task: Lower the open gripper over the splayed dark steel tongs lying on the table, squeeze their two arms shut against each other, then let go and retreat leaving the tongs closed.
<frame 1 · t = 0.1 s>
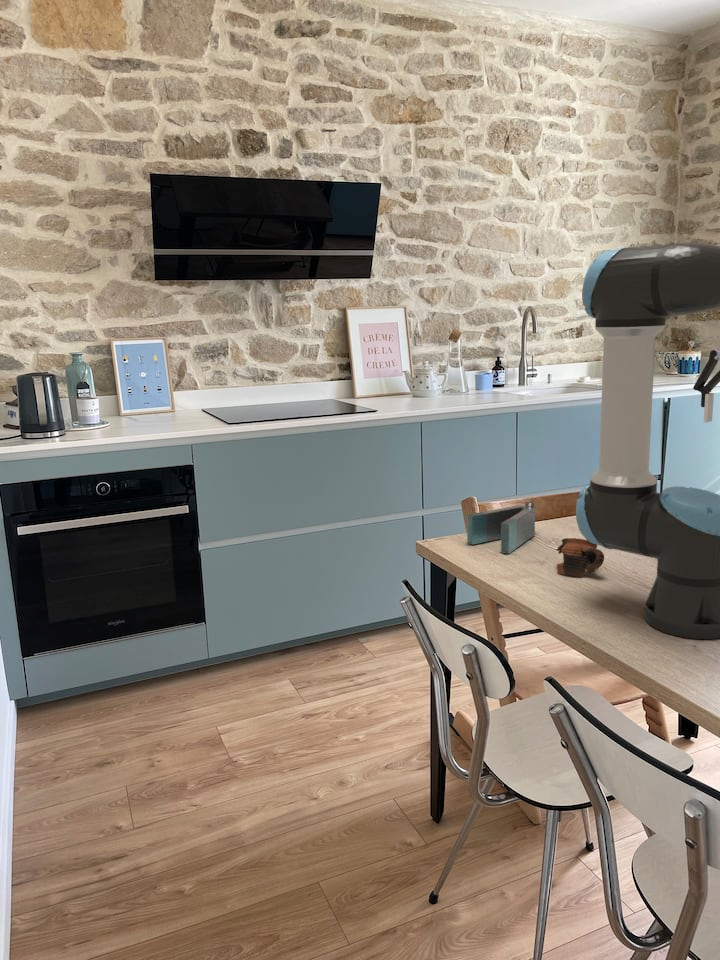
left tong arm: (496, 524, 182), point 4 cm above the table, hinge at 0.0°
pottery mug: (580, 572, 159), on the table
pivot post: (529, 533, 186), on the table
right tong arm: (518, 529, 177), point 4 cm above the table, hinge at 0.0°
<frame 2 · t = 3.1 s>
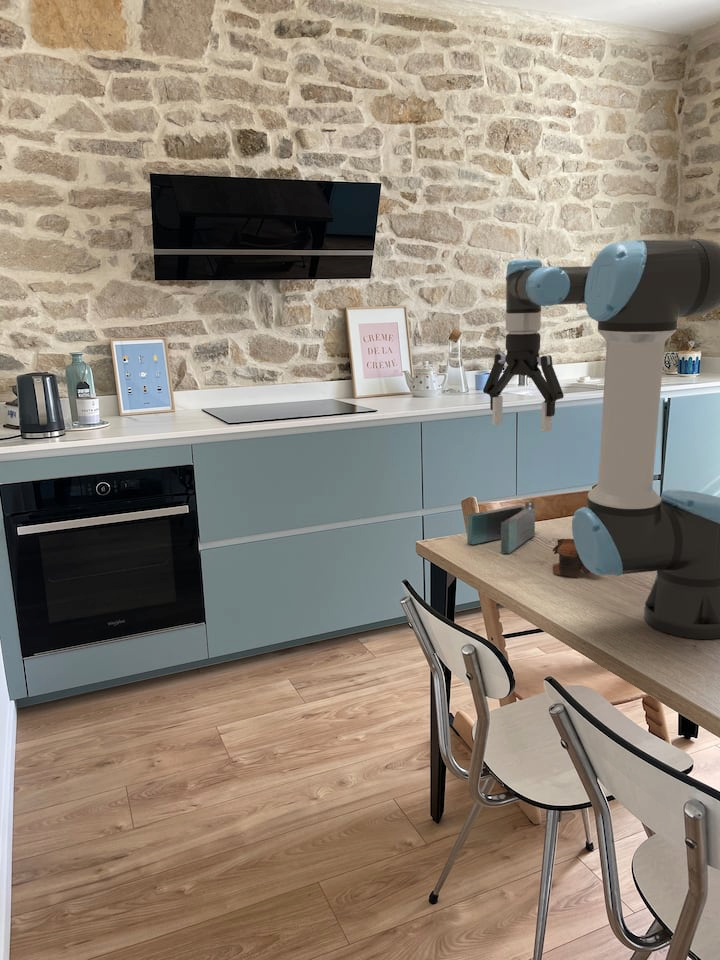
hand: (521, 427, 169), 29 cm above the table, tool pointing down, fingers open, 13 cm apart
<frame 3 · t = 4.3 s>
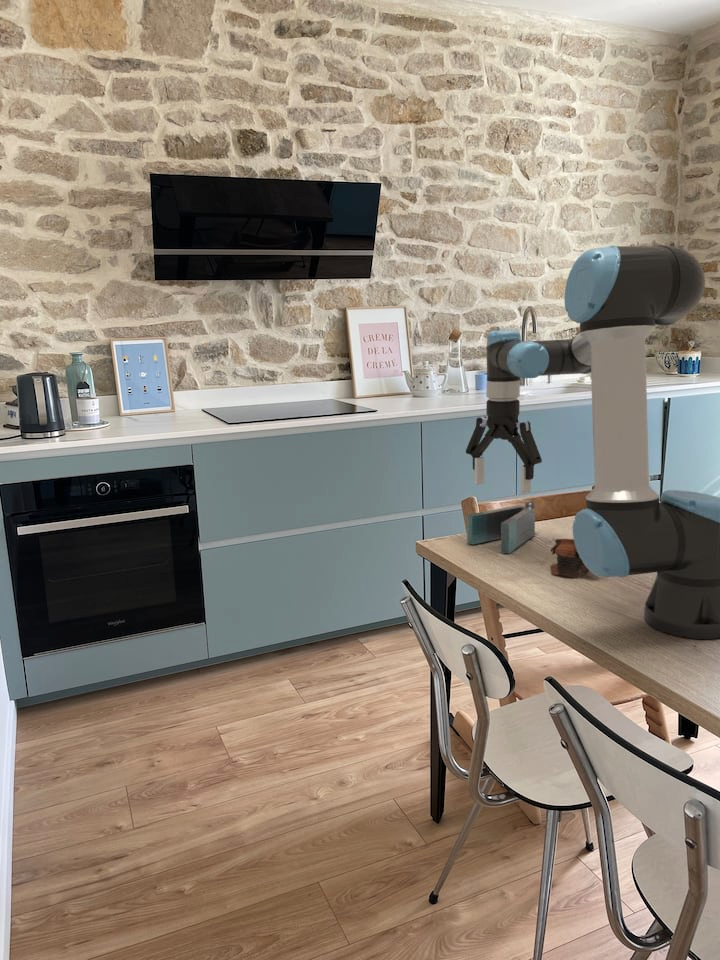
hand: (501, 488, 176), 14 cm above the table, tool pointing down, fingers open, 13 cm apart
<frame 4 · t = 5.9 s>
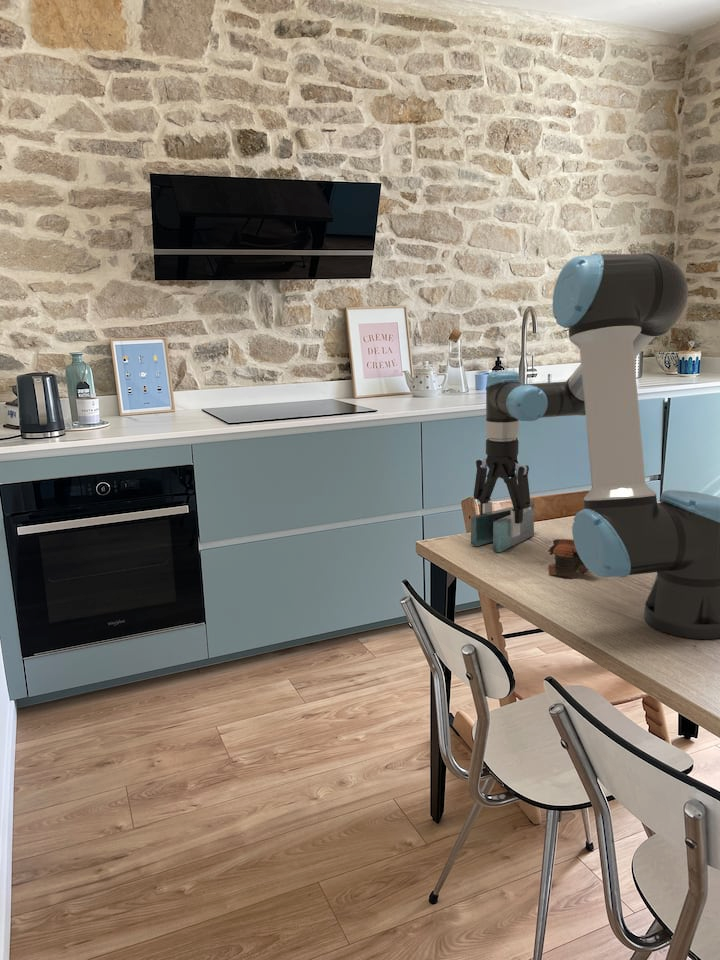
hand: (500, 532, 178), 3 cm above the table, tool pointing down, fingers open, 8 cm apart
left tong arm: (498, 525, 181), point 4 cm above the table, hinge at 5.2°, touching gripper
right tong arm: (514, 529, 177), point 4 cm above the table, hinge at -6.8°, touching gripper
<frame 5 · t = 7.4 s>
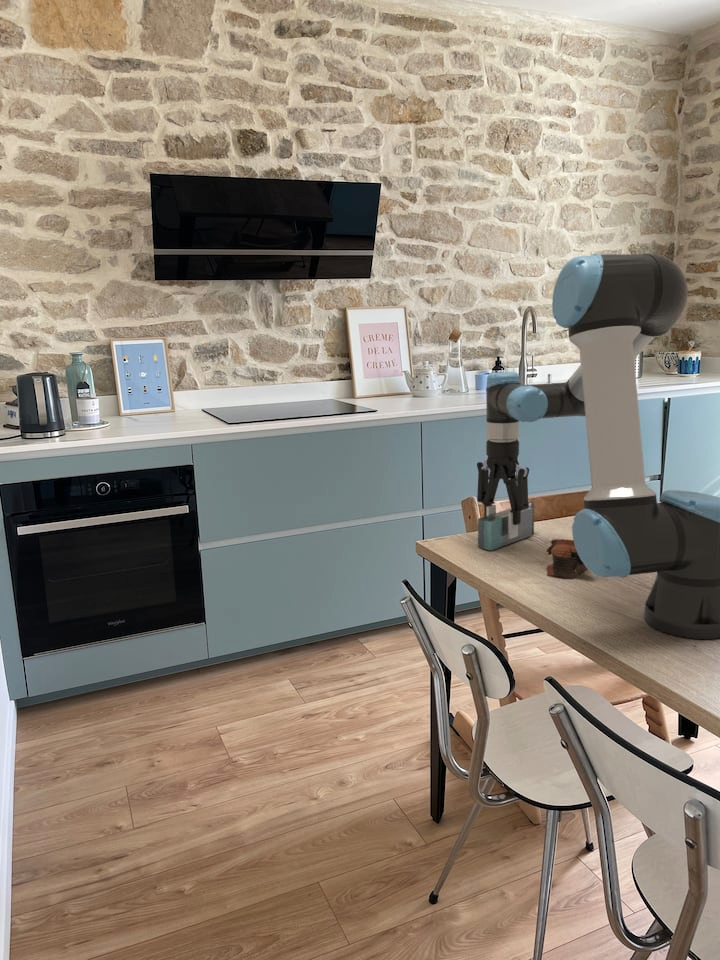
hand: (501, 534, 178), 2 cm above the table, tool pointing down, fingers open, 6 cm apart
left tong arm: (502, 526, 180), point 4 cm above the table, hinge at 13.9°
right tong arm: (509, 528, 178), point 4 cm above the table, hinge at -14.7°
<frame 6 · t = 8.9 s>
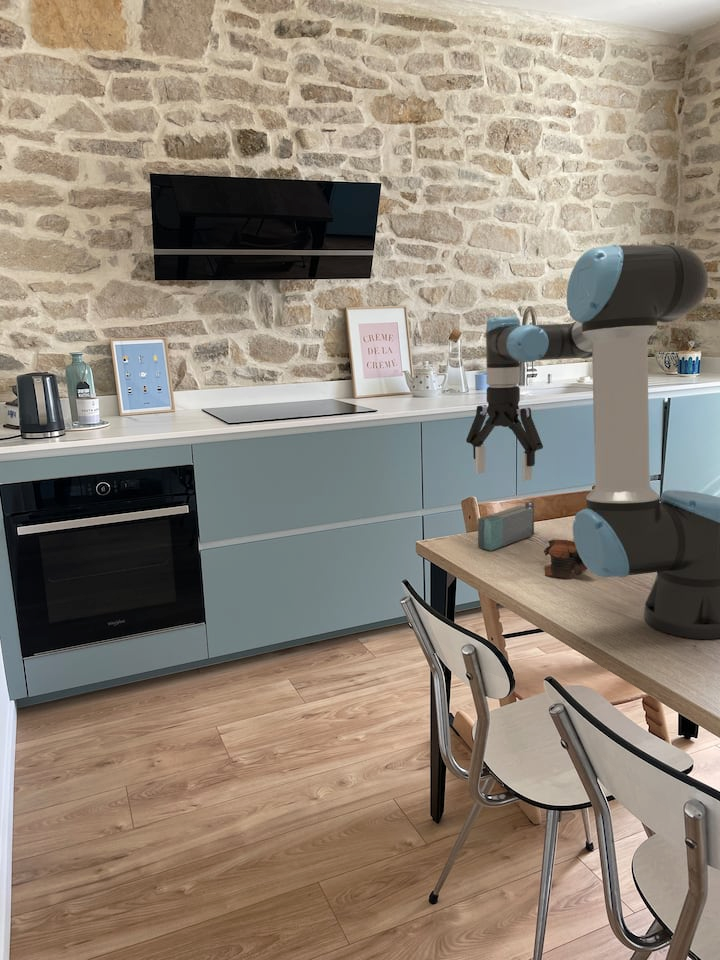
hand: (503, 476, 175), 17 cm above the table, tool pointing down, fingers open, 13 cm apart
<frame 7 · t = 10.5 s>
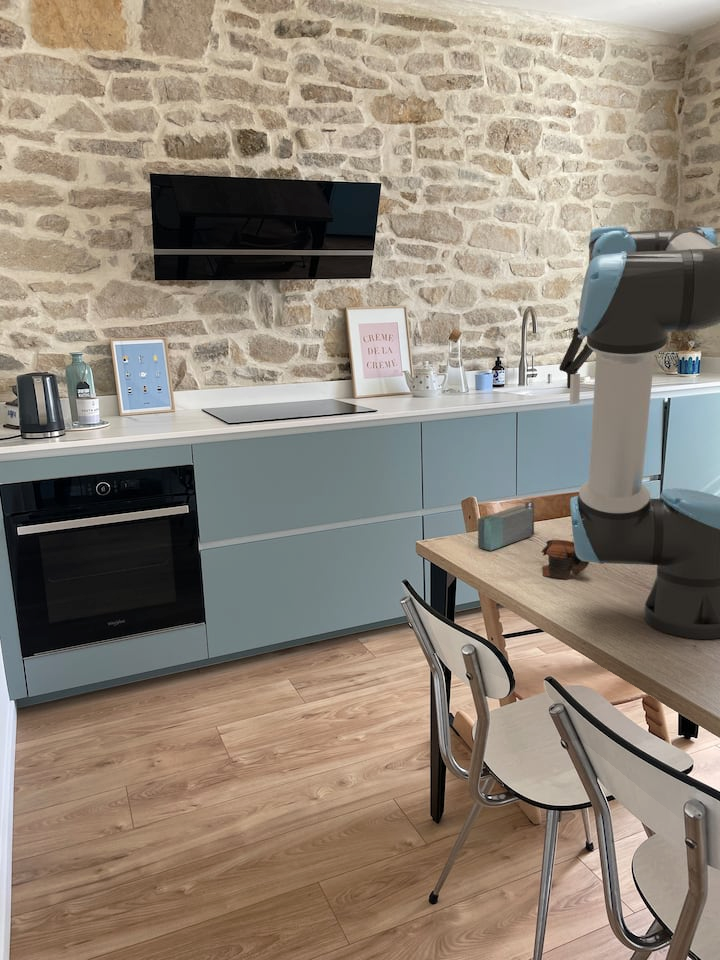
hand: (602, 405, 161), 34 cm above the table, tool pointing down, fingers open, 13 cm apart
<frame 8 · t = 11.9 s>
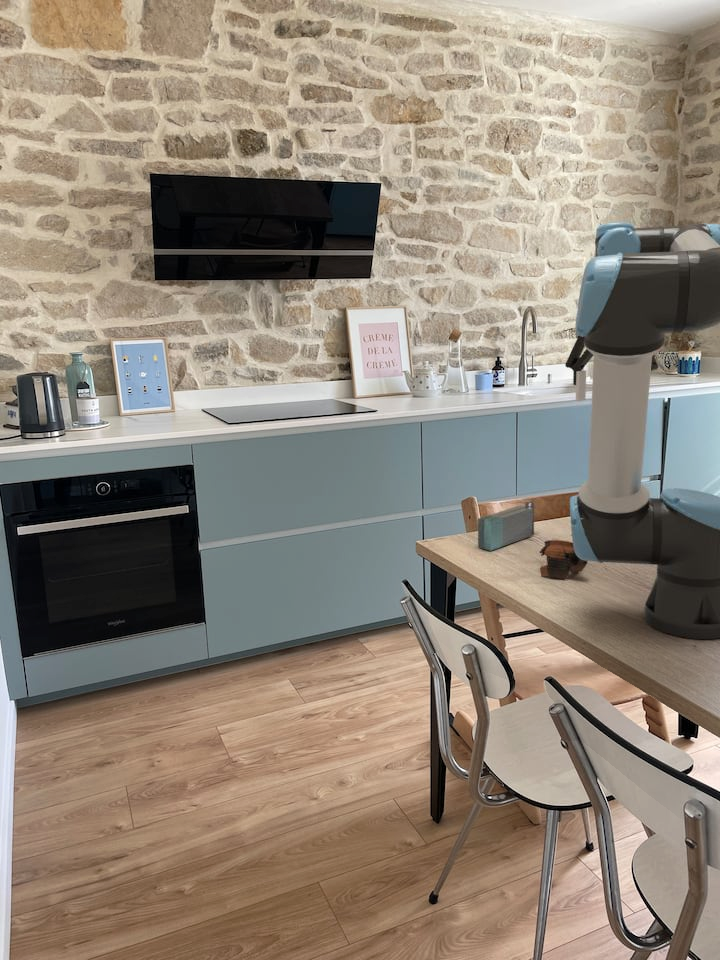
hand: (608, 402, 160), 35 cm above the table, tool pointing down, fingers open, 13 cm apart
at the end: left tong arm at +14° (first picture: +0°); right tong arm at -15° (first picture: +0°); the gripper is holding nothing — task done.
